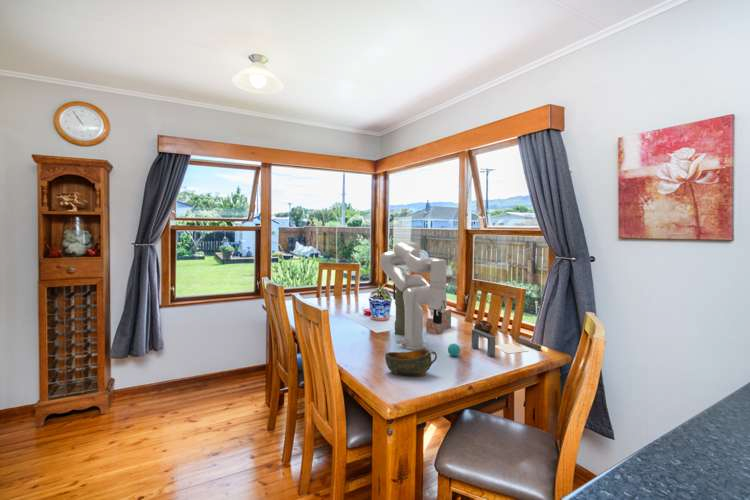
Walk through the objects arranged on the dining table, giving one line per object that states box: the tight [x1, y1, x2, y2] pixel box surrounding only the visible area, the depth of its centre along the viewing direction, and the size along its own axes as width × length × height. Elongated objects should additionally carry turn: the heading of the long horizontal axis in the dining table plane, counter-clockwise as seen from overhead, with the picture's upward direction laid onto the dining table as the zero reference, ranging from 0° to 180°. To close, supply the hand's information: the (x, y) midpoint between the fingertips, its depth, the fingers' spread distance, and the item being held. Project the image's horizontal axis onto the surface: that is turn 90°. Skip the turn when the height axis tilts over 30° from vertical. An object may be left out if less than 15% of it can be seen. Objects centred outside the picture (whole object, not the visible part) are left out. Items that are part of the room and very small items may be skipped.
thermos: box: [392, 283, 405, 336], centre depth 220 cm, size 9×12×35 cm
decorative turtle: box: [473, 320, 493, 334], centre depth 220 cm, size 10×15×8 cm, turn 139°
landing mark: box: [495, 343, 529, 355], centre depth 193 cm, size 13×13×1 cm
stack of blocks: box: [425, 307, 452, 335], centre depth 229 cm, size 21×6×12 cm, turn 143°
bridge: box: [471, 328, 496, 358], centre depth 187 cm, size 3×15×10 cm, turn 20°
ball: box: [447, 343, 461, 357], centre depth 181 cm, size 6×6×6 cm
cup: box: [384, 348, 438, 378], centre depth 158 cm, size 13×20×10 cm, turn 56°
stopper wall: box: [515, 336, 542, 352], centre depth 197 cm, size 2×16×2 cm, turn 21°
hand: (437, 322), depth 177 cm, fingers closed
